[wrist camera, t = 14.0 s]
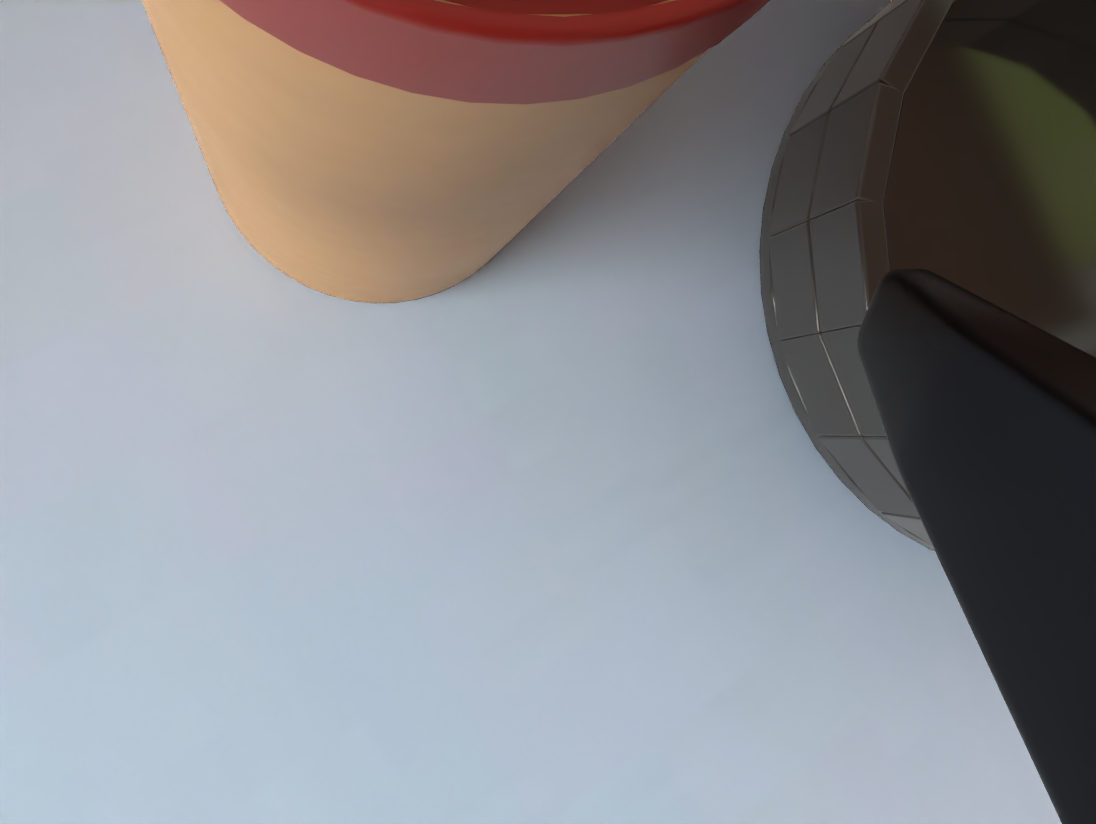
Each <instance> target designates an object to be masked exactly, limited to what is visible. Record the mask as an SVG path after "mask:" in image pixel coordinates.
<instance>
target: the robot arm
mask: <svg viewBox="0 0 1096 824" xmlns="http://www.w3.org/2000/svg"><path fill="white" fill-rule="evenodd" d="M857 347H858V353H859V357H860V360H861V363H862V366H863V369H864V372H865V375H866V378H867V381H868V384H869V387H870V390H871V393H872V396H873V399H874V402H875V405H876V408H877V411H878V414H879V417H880V420H881V423H882V426H883V429H884V431H885V434H886V437H887V440H888V443H889V446H890V449H891V452H892V455H893V458H894V460H895V463H896V466H897V468H898V471H899V473H900V476H901V478H902V480H903V483H904V485H905V487H906V489H907V492H908V494H909V496H910V498H911V500H912V502H913V505H914V507H915V509H916V511H917V513H918V515H919V517H920V520H921V522H922V524H923V526H924V528H925V530H926V532H927V535H928V537H929V539H930V541H931V543H932V545H933V547H934V550H935V552H936V554H937V556H938V558H939V560H940V563H941V565H942V567H943V569H944V571H945V573H946V575H947V578H948V580H949V582H950V584H951V586H952V588H953V590H954V593H955V595H956V597H957V599H958V601H959V603H960V605H961V608H962V610H963V612H964V614H965V616H966V618H967V621H968V623H969V625H970V627H971V629H972V631H973V633H974V636H975V638H976V640H977V642H978V644H979V646H980V648H981V651H982V653H983V655H984V657H985V659H986V661H987V663H988V666H989V668H990V670H991V672H992V674H993V676H994V678H995V681H996V683H997V685H998V687H999V689H1000V691H1001V694H1002V696H1003V698H1004V700H1005V702H1006V704H1007V706H1008V709H1009V711H1010V713H1011V715H1012V717H1013V719H1014V721H1015V724H1016V726H1017V728H1018V730H1019V732H1020V734H1021V736H1022V739H1023V741H1024V743H1025V745H1026V747H1027V749H1028V752H1029V754H1030V756H1031V758H1032V760H1033V762H1034V764H1035V767H1036V769H1037V771H1038V773H1039V775H1040V777H1041V779H1042V782H1043V784H1044V786H1045V788H1046V790H1047V792H1048V794H1049V797H1050V799H1051V801H1052V803H1053V805H1054V807H1055V809H1056V812H1057V814H1058V816H1059V818H1060V820H1061V822H1062V824H1096V358H1095V357H1093V356H1091V355H1090V354H1088V353H1086V352H1084V351H1082V350H1080V349H1078V348H1076V347H1074V346H1072V345H1071V344H1069V343H1067V342H1065V341H1063V340H1061V339H1059V338H1057V337H1055V336H1053V335H1052V334H1050V333H1048V332H1046V331H1044V330H1042V329H1040V328H1038V327H1036V326H1034V325H1033V324H1031V323H1029V322H1027V321H1025V320H1023V319H1021V318H1019V317H1017V316H1015V315H1013V314H1012V313H1010V312H1008V311H1006V310H1004V309H1002V308H1000V307H998V306H996V305H994V304H993V303H991V302H989V301H987V300H985V299H983V298H981V297H979V296H977V295H975V294H974V293H972V292H970V291H968V290H966V289H964V288H962V287H960V286H958V285H956V284H955V283H953V282H951V281H949V280H947V279H945V278H943V277H941V276H939V275H937V274H935V273H934V272H932V271H929V270H927V269H894V270H891V271H889V272H887V273H886V274H885V275H884V276H883V277H882V278H881V280H880V282H879V284H878V286H877V288H876V291H875V293H874V295H873V298H872V300H871V302H870V305H869V307H868V310H867V312H866V314H865V317H864V319H863V321H862V324H861V326H860V329H859V332H858V338H857Z"/></svg>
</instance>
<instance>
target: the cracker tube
mask: <svg viewBox="0 0 1096 824" xmlns="http://www.w3.org/2000/svg"><path fill="white" fill-rule="evenodd" d="M769 1H770V0H142V2H143V5H144V7H145V10H146V12H147V15H148V17H149V20H150V22H151V25H152V27H153V30H154V33H155V35H156V38H157V40H158V43H159V45H160V48H161V50H162V53H163V55H164V58H165V60H166V63H167V65H168V68H169V70H170V73H171V75H172V78H173V80H174V83H175V86H176V88H177V91H178V93H179V96H180V98H181V101H182V103H183V106H184V108H185V111H186V113H187V116H188V118H189V121H190V123H191V126H192V128H193V131H194V133H195V136H196V139H197V141H198V144H199V146H200V149H201V151H202V154H203V156H204V159H205V161H206V164H207V166H208V169H209V171H210V174H211V176H212V179H213V181H214V184H215V186H216V189H217V192H218V194H219V196H220V198H221V200H222V202H223V204H224V206H225V208H226V211H227V212H228V214H229V216H230V217H231V219H232V220H233V222H234V223H235V225H236V226H237V228H238V230H239V231H240V232H241V233H242V235H243V236H244V237H245V238H246V239H247V241H248V242H249V243H250V244H251V245H252V247H253V248H254V249H255V250H256V251H258V252H259V253H260V254H261V255H262V256H263V257H264V258H265V259H266V260H267V261H268V262H269V263H271V264H272V265H273V266H275V267H276V268H278V269H279V270H280V271H282V272H283V273H285V274H286V275H287V276H289V277H291V278H292V279H294V280H296V281H298V282H300V283H302V284H303V285H305V286H307V287H309V288H312V289H314V290H317V291H320V292H322V293H325V294H327V295H330V296H334V297H338V298H342V299H346V300H350V301H359V302H367V303H396V302H403V301H410V300H416V299H420V298H423V297H427V296H430V295H434V294H436V293H439V292H441V291H443V290H446V289H448V288H450V287H453V286H455V285H456V284H458V283H460V282H461V281H463V280H465V279H466V278H468V277H470V276H471V275H473V274H474V273H475V272H476V271H477V270H479V269H480V268H481V267H482V266H484V265H485V264H486V263H487V262H488V261H489V260H490V259H492V258H493V257H494V256H495V255H496V254H497V253H498V252H499V251H500V250H501V249H502V248H503V247H504V246H505V245H506V244H507V243H508V242H509V241H510V240H511V239H512V238H513V237H514V236H515V235H516V234H517V233H518V232H520V231H521V230H522V229H523V228H524V227H525V226H526V225H527V224H528V223H529V222H530V221H531V220H532V219H533V218H534V217H535V216H536V215H537V214H538V213H539V212H540V211H541V210H542V209H543V208H544V207H545V206H546V205H548V204H549V203H550V202H551V201H552V200H553V199H554V198H555V197H556V196H557V195H558V194H559V193H560V192H561V191H562V190H563V189H564V188H565V187H566V186H567V185H568V184H569V183H570V182H571V181H572V180H573V179H574V178H576V177H577V176H578V175H579V174H580V173H581V172H582V171H583V170H584V169H585V168H586V167H587V166H588V165H589V164H590V163H591V162H592V161H593V160H594V159H595V158H596V157H597V156H598V155H599V154H600V153H601V152H602V151H604V150H605V149H606V148H607V147H608V146H609V145H610V144H611V143H612V142H613V141H614V140H615V139H616V138H617V137H618V136H619V135H620V134H621V133H622V132H623V131H624V130H625V129H626V128H627V127H628V126H629V125H630V124H632V123H633V122H634V121H635V120H636V119H637V118H638V117H639V116H640V115H641V114H642V113H643V112H644V111H645V110H646V109H647V108H648V107H649V106H650V105H651V104H652V103H653V102H654V101H655V100H656V99H657V98H658V97H660V96H661V95H662V94H663V93H664V92H665V91H666V90H667V89H668V88H669V87H670V86H671V85H672V84H673V83H674V82H675V81H676V80H677V79H678V78H679V77H680V76H681V75H682V74H683V73H684V72H685V71H686V70H687V69H689V68H690V67H691V66H692V65H693V64H694V63H695V62H696V61H697V60H698V59H699V58H700V57H701V56H702V55H703V54H704V53H705V52H706V51H707V50H708V49H710V48H711V47H713V46H715V45H717V44H718V43H720V42H721V41H722V40H723V39H725V38H726V37H727V36H728V35H730V34H731V33H732V32H733V31H735V30H736V29H737V28H738V27H740V26H741V25H742V24H743V23H745V22H746V21H747V20H748V19H750V18H751V17H752V16H753V15H755V14H756V13H757V12H758V11H759V10H760V9H761V8H762V7H763V6H764V5H765V4H767V3H768V2H769Z"/></svg>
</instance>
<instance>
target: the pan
mask: <svg viewBox="0 0 1096 824" xmlns="http://www.w3.org/2000/svg"><path fill="white" fill-rule="evenodd" d="M894 269H927V270H929V271H932V272H934V273H935V274H937V275H939V276H941V277H943V278H945V279H947V280H949V281H951V282H953V283H955V284H956V285H958V286H960V287H962V288H964V289H966V290H968V291H970V292H972V293H974V294H975V295H977V296H979V297H981V298H983V299H985V300H987V301H989V302H991V303H993V304H994V305H996V306H998V307H1000V308H1002V309H1004V310H1006V311H1008V312H1010V313H1012V314H1013V315H1015V316H1017V317H1019V318H1021V319H1023V320H1025V321H1027V322H1029V323H1031V324H1033V325H1034V326H1036V327H1038V328H1040V329H1042V330H1044V331H1046V332H1048V333H1050V334H1052V335H1053V336H1055V337H1057V338H1059V339H1061V340H1063V341H1065V342H1067V343H1069V344H1071V345H1072V346H1074V347H1076V348H1078V349H1080V350H1082V351H1084V352H1086V353H1088V354H1090V355H1091V356H1093V357H1095V358H1096V0H892V1H891V2H890V3H889V4H888V5H887V6H886V7H885V8H883V9H882V10H881V11H880V12H879V13H878V14H877V15H875V16H874V17H873V18H872V19H871V20H869V21H868V22H867V23H866V24H864V25H863V26H862V27H861V28H860V29H858V30H857V31H856V32H855V33H853V34H852V35H851V36H850V37H849V38H848V39H847V40H846V41H845V42H844V43H843V44H842V45H841V46H840V47H839V48H838V49H837V51H836V52H835V53H834V54H833V55H832V56H831V57H830V58H829V59H828V61H827V62H826V63H825V64H824V65H823V67H822V68H821V70H820V71H819V73H818V74H817V75H816V77H815V78H814V80H813V81H812V83H811V84H810V86H809V87H808V89H807V90H806V91H805V93H804V94H803V96H802V98H801V100H800V102H799V104H798V106H797V108H796V110H795V112H794V114H793V116H792V118H791V120H790V122H789V124H788V126H787V128H786V130H785V132H784V135H783V138H782V141H781V144H780V146H779V149H778V152H777V155H776V158H775V161H774V164H773V167H772V170H771V175H770V179H769V184H768V189H767V194H766V198H765V203H764V208H763V217H762V229H761V241H760V274H761V295H762V301H763V307H764V314H765V320H766V326H767V332H768V337H769V340H770V344H771V347H772V351H773V354H774V358H775V361H776V365H777V368H778V372H779V375H780V377H781V380H782V382H783V384H784V387H785V389H786V392H787V394H788V396H789V399H790V401H791V403H792V406H793V408H794V410H795V413H796V415H797V416H798V418H799V420H800V421H801V423H802V425H803V427H804V428H805V430H806V432H807V434H808V435H809V437H810V439H811V441H812V442H813V444H814V446H815V447H816V449H817V450H818V452H819V453H820V454H821V455H822V457H823V458H824V459H825V461H826V462H827V463H828V465H829V466H830V467H831V469H832V470H833V471H834V473H835V474H836V475H837V477H838V478H839V479H840V480H841V481H842V482H843V483H844V484H845V485H846V487H847V488H848V489H849V490H850V491H851V492H852V493H853V494H854V495H855V496H856V497H857V498H858V499H859V500H860V501H861V502H862V503H863V504H864V505H865V506H866V507H867V508H868V509H870V510H871V511H872V512H874V513H875V514H876V515H877V516H879V517H880V518H881V519H883V520H884V521H885V522H887V523H888V524H889V525H890V526H892V527H893V528H894V529H896V530H897V531H898V532H900V533H902V534H904V535H905V536H907V537H909V538H911V539H913V540H914V541H916V542H918V543H920V544H921V545H923V546H925V547H927V548H928V549H930V550H933V551H935V550H934V547H933V545H932V543H931V541H930V539H929V537H928V535H927V532H926V530H925V528H924V526H923V524H922V522H921V520H920V517H919V515H918V513H917V511H916V509H915V507H914V505H913V502H912V500H911V498H910V496H909V494H908V492H907V489H906V487H905V485H904V483H903V480H902V478H901V476H900V473H899V471H898V468H897V466H896V463H895V460H894V458H893V455H892V452H891V449H890V446H889V443H888V440H887V437H886V434H885V431H884V429H883V426H882V423H881V420H880V417H879V414H878V411H877V408H876V405H875V402H874V399H873V396H872V393H871V390H870V387H869V384H868V381H867V378H866V375H865V372H864V369H863V366H862V363H861V360H860V357H859V353H858V347H857V338H858V332H859V329H860V326H861V324H862V321H863V319H864V317H865V314H866V312H867V310H868V307H869V305H870V302H871V300H872V298H873V295H874V293H875V291H876V288H877V286H878V284H879V282H880V280H881V278H882V277H883V276H884V275H885V274H886V273H887V272H889V271H891V270H894Z"/></svg>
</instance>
